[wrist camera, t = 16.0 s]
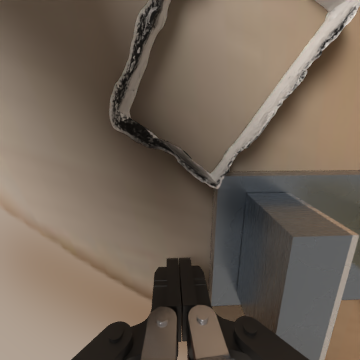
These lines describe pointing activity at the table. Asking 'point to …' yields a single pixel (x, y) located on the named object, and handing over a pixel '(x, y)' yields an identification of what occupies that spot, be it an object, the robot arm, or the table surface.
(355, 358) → the table surface
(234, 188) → the vise base
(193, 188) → the table surface
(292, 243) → the sliding jaw
